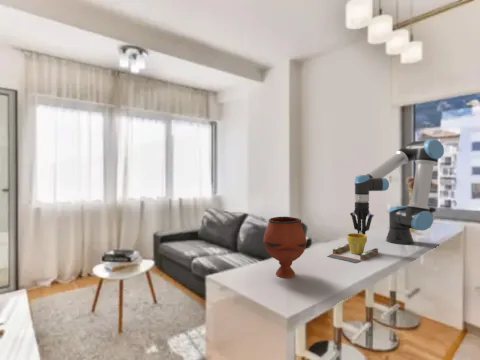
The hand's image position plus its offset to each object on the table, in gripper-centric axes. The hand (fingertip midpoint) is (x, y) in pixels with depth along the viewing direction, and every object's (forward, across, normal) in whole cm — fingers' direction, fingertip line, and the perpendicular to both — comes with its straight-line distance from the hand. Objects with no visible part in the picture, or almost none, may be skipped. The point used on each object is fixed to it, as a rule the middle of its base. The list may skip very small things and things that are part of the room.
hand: (361, 242), depth 168 cm
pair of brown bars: (+5, 0, -8) cm, 10 cm away
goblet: (+5, -6, -62) cm, 63 cm away
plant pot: (+5, 0, -6) cm, 8 cm away
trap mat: (+5, 0, -22) cm, 22 cm away
